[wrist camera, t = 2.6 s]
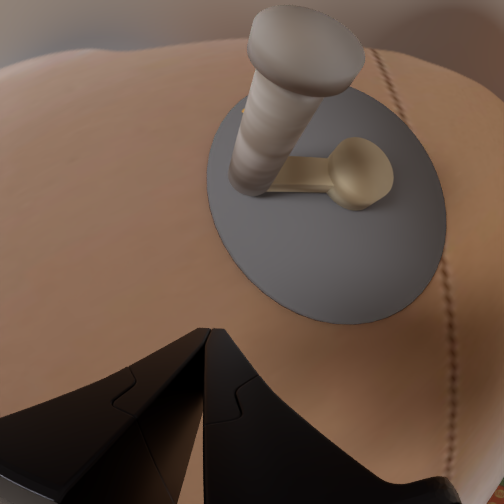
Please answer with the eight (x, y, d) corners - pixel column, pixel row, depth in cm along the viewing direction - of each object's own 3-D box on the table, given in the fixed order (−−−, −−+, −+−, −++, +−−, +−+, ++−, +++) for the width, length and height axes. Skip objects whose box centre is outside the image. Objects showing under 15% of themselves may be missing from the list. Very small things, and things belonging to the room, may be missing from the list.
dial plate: (465, 281, 25) (470, 280, 25) (247, 362, 21) (249, 363, 20) (391, 86, 29) (394, 82, 28) (184, 91, 24) (185, 85, 23)
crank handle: (369, 155, 25) (469, 60, 12) (381, 211, 24) (505, 134, 11) (217, 147, 22) (248, -5, 10) (220, 211, 21) (258, 74, 9)
